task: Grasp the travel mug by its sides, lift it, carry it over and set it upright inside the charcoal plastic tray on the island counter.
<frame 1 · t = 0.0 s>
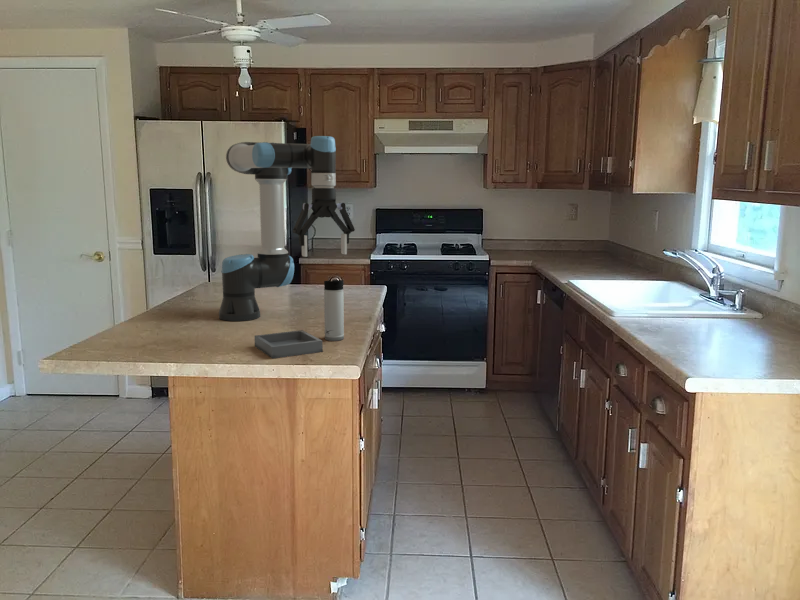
hand: (324, 255, 208), 28 cm above the table, fingers open, 13 cm apart
tray: (288, 349, 202), on the table
travel mug: (334, 339, 216), on the table
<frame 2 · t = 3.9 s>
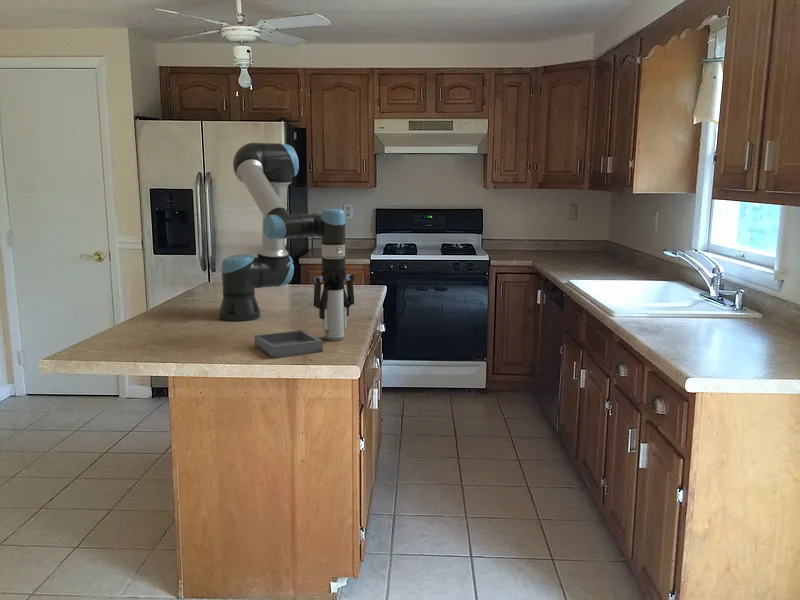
hand: (334, 327, 215), 4 cm above the table, fingers closed on travel mug, 6 cm apart
travel mug: (334, 339, 216), on the table, touching gripper
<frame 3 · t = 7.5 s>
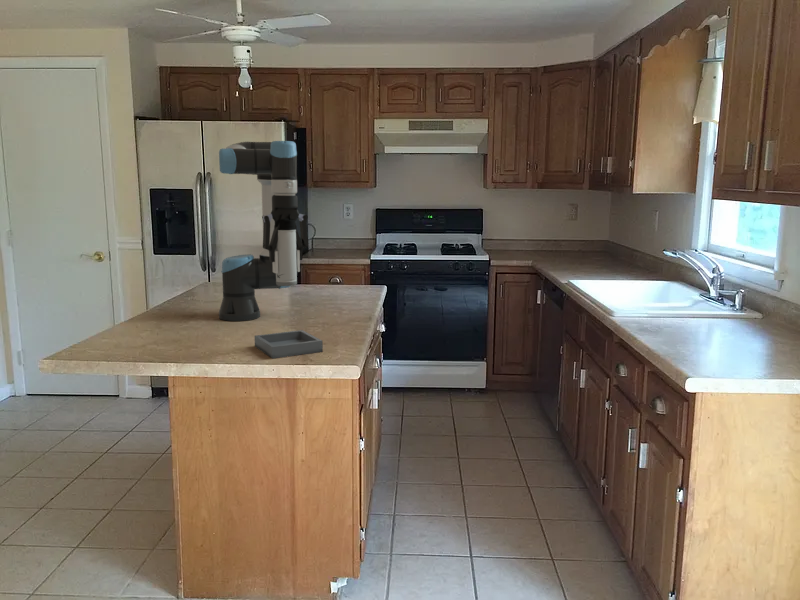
hand: (286, 271, 198), 24 cm above the table, fingers closed on travel mug, 6 cm apart
travel mug: (286, 285, 199), point 20 cm above the table, touching gripper
when the fingers open (6 cm above the table, at t = 11.4 s): travel mug drops 1 cm, resting on tray.
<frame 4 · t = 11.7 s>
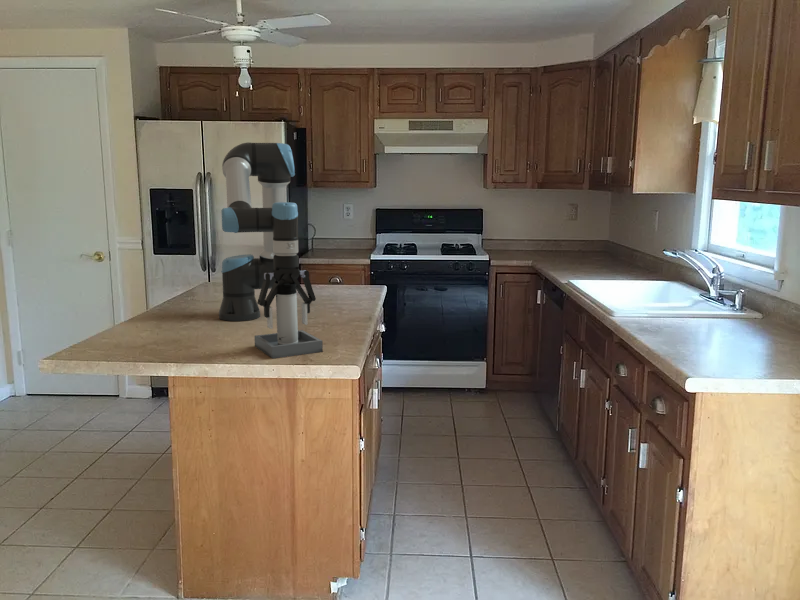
hand: (287, 325, 201), 7 cm above the table, fingers open, 10 cm apart
travel mug: (288, 346, 202), point 1 cm above the table, touching tray
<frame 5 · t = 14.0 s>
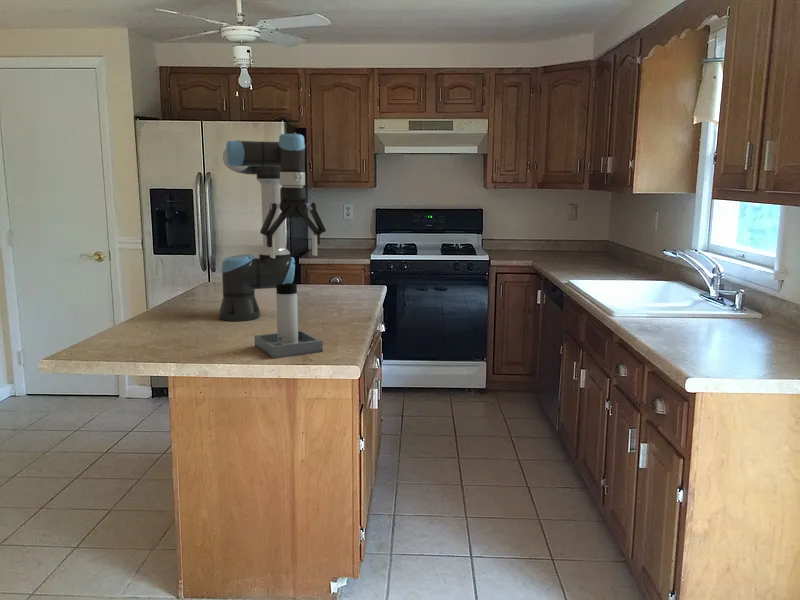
hand: (294, 256, 202), 28 cm above the table, fingers open, 13 cm apart
nothing on the table moved.
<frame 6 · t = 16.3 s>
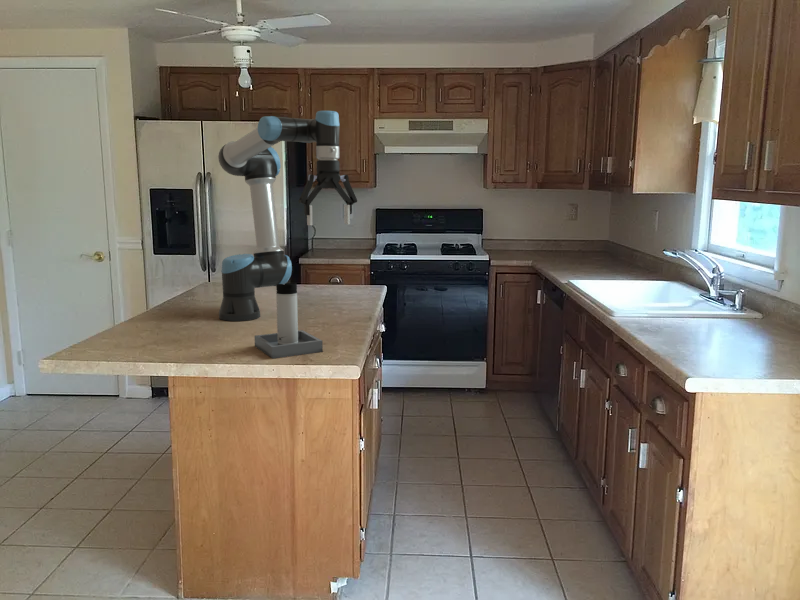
hand: (328, 224, 219), 37 cm above the table, fingers open, 13 cm apart
nothing on the table moved.
at the end: travel mug inside the target area on the tray (0.0 cm from its centre), point 0.8 cm above the tray's base; travel mug tilted 0°; the gripper is holding nothing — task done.
